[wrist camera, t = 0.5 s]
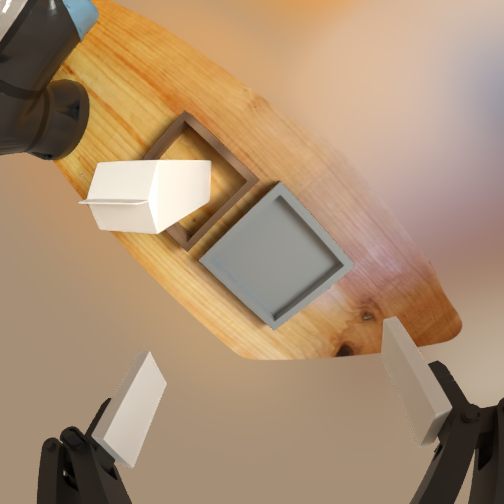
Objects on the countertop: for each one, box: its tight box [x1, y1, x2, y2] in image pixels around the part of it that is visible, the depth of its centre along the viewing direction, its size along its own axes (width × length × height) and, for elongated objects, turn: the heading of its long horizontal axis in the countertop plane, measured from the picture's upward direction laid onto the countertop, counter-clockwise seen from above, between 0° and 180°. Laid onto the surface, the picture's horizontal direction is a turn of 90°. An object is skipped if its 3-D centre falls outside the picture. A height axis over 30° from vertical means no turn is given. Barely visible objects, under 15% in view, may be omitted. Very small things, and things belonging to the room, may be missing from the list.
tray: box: [199, 181, 355, 330], centre depth 40 cm, size 16×16×2 cm
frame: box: [142, 111, 259, 252], centre depth 37 cm, size 14×14×3 cm
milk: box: [78, 160, 212, 234], centre depth 28 cm, size 6×6×22 cm
